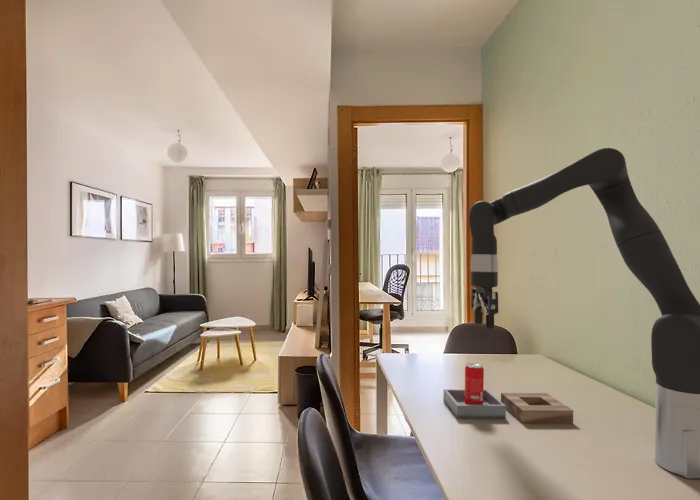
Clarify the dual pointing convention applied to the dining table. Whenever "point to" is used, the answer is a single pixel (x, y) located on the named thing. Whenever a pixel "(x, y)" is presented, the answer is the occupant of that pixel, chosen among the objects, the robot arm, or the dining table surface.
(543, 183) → the robot arm
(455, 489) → the dining table surface
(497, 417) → the tray
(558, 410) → the socket holder
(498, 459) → the dining table surface
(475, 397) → the beverage can
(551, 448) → the dining table surface
